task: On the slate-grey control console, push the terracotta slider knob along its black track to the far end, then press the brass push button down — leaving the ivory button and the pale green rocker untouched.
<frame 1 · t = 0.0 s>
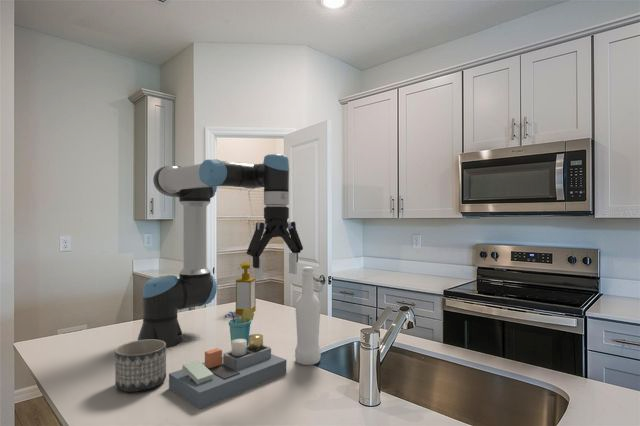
hand: (276, 276, 116), 28 cm above the countertop, fingers open, 13 cm apart
soap bottle: (243, 314, 179), on the countertop
slider knob: (213, 357, 108), point 7 cm above the countertop, slide at 0.0 cm
bottle: (307, 361, 122), on the countertop
console: (230, 380, 108), on the countertop
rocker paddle: (197, 371, 101), point 6 cm above the countertop, hinge at 12.0°, touching console
planter: (141, 385, 106), on the countertop
button brass: (255, 342, 115), point 9 cm above the countertop, slide at 0.0 cm
button ivory: (239, 347, 110), point 9 cm above the countertop, slide at 0.0 cm
cup: (238, 353, 129), on the countertop
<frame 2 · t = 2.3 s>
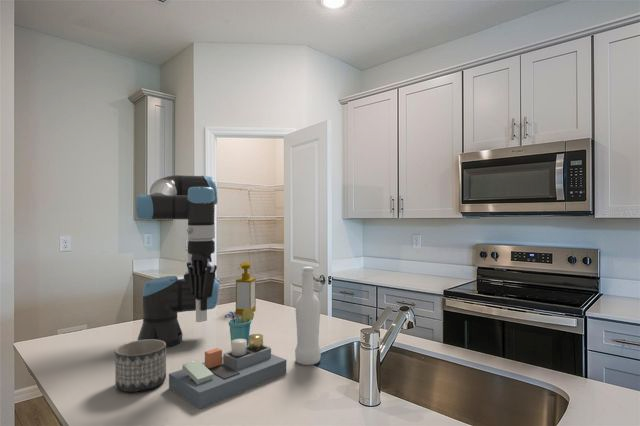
hand: (201, 320, 112), 16 cm above the countertop, fingers closed
nothing on the countertop moved.
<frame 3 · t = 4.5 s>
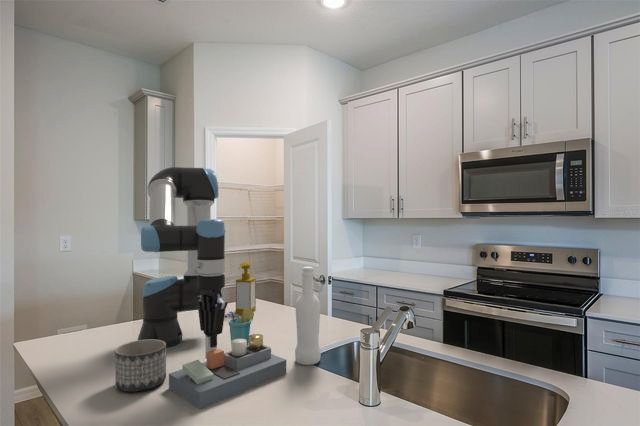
hand: (211, 357, 108), 6 cm above the countertop, fingers closed
slider knob: (215, 358, 107), point 7 cm above the countertop, slide at 1.0 cm, touching gripper
everything else where it was.
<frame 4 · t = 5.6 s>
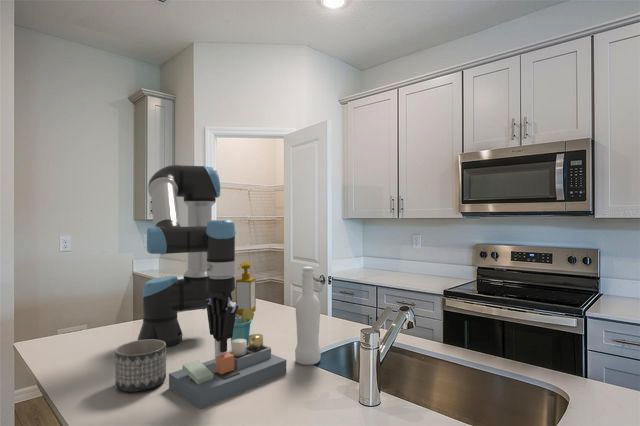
hand: (220, 362, 105), 6 cm above the countertop, fingers closed
slider knob: (225, 363, 104), point 7 cm above the countertop, slide at 5.8 cm, touching gripper
everything else where it was.
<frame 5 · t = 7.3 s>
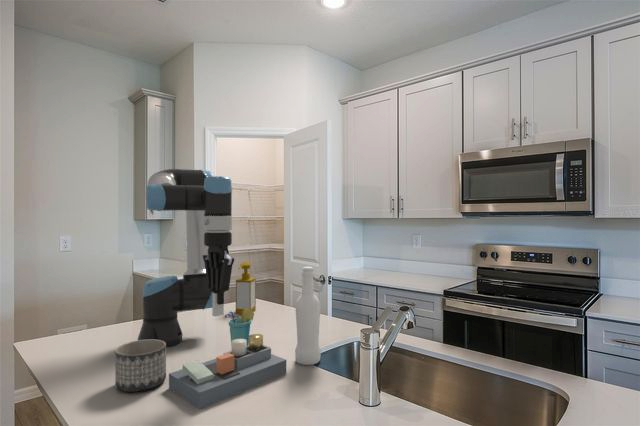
hand: (218, 315, 108), 18 cm above the countertop, fingers closed
slider knob: (225, 363, 104), point 7 cm above the countertop, slide at 5.9 cm
everything else where it was.
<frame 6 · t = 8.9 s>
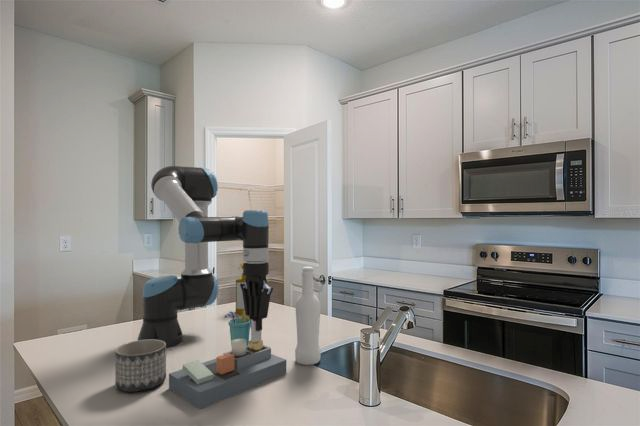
hand: (256, 340, 115), 9 cm above the countertop, fingers closed
button brass: (255, 347, 115), point 7 cm above the countertop, slide at 1.6 cm, touching gripper
everything else where it was.
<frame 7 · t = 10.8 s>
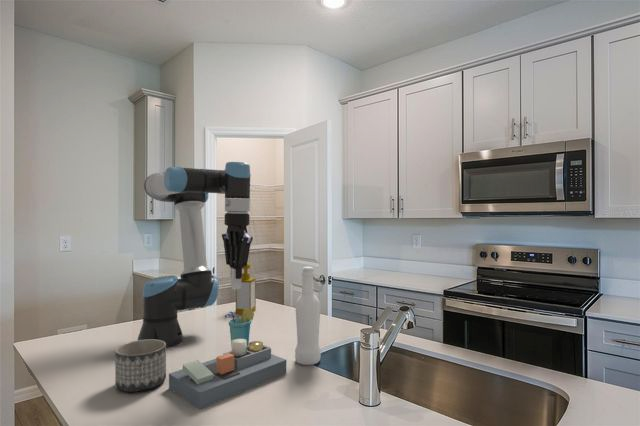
hand: (236, 288, 119), 24 cm above the countertop, fingers closed
button brass: (255, 349, 115), point 6 cm above the countertop, slide at 2.2 cm
everything else where it was.
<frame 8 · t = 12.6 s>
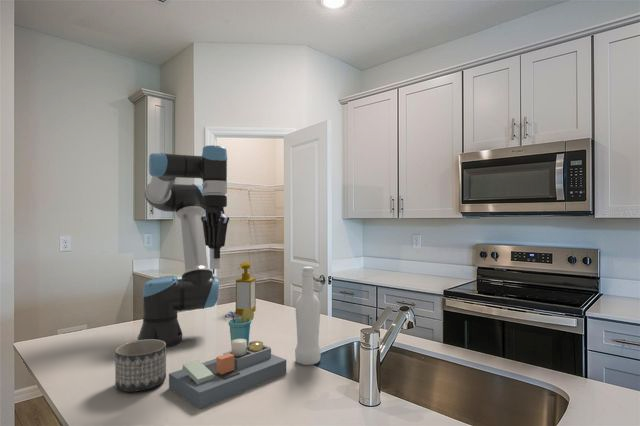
hand: (214, 268, 123), 29 cm above the countertop, fingers closed
nothing on the countertop moved.
at the end: slider knob slide at 5.9 cm; button brass slide at 2.2 cm; button ivory slide at 0.0 cm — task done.
